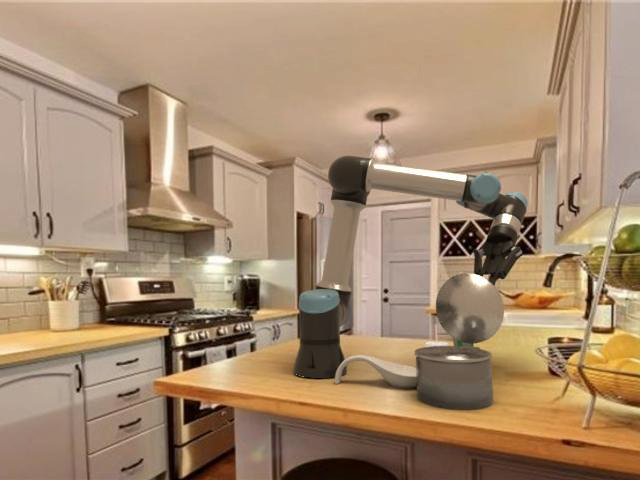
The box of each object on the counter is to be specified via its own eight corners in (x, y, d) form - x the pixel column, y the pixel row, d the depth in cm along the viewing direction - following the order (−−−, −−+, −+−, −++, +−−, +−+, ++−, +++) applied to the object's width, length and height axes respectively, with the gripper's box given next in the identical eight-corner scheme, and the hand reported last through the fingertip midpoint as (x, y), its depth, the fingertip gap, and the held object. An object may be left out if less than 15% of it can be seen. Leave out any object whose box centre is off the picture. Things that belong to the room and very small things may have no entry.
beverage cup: (429, 373, 114) (427, 322, 115) (452, 376, 110) (450, 323, 112) (423, 378, 108) (421, 325, 109) (447, 381, 105) (444, 326, 106)
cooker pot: (442, 383, 103) (440, 342, 104) (509, 395, 92) (506, 350, 93) (401, 399, 91) (400, 353, 92) (473, 415, 79) (470, 363, 80)
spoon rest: (428, 380, 108) (426, 352, 108) (431, 393, 96) (430, 361, 97) (338, 378, 112) (338, 351, 112) (332, 389, 100) (331, 359, 101)
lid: (436, 340, 103) (441, 339, 105) (503, 347, 91) (508, 346, 93) (434, 274, 105) (440, 274, 107) (500, 272, 93) (505, 273, 95)
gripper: (532, 242, 112) (513, 308, 99) (485, 245, 121) (462, 306, 108) (523, 221, 109) (503, 287, 96) (476, 226, 118) (451, 286, 105)
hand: (481, 297), depth 102 cm, fingers closed
